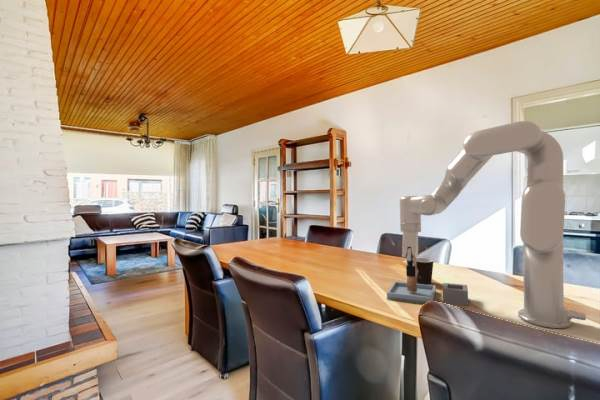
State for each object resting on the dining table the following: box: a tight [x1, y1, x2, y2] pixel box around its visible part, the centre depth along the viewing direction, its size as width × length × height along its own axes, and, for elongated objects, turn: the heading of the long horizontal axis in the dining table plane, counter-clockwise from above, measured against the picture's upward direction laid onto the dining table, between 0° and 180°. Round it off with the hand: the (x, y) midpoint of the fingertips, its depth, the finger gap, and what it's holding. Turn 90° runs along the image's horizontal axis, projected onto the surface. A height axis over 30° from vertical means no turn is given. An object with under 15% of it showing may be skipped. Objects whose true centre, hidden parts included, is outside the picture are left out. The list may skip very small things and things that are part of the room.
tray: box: [386, 281, 437, 305], centre depth 119 cm, size 16×16×2 cm
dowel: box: [406, 258, 417, 292], centre depth 119 cm, size 4×4×12 cm
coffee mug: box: [416, 257, 434, 285], centre depth 137 cm, size 12×9×10 cm
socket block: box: [442, 282, 469, 306], centre depth 112 cm, size 8×8×5 cm
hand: (411, 274), depth 119 cm, fingers closed on dowel, 3 cm apart
